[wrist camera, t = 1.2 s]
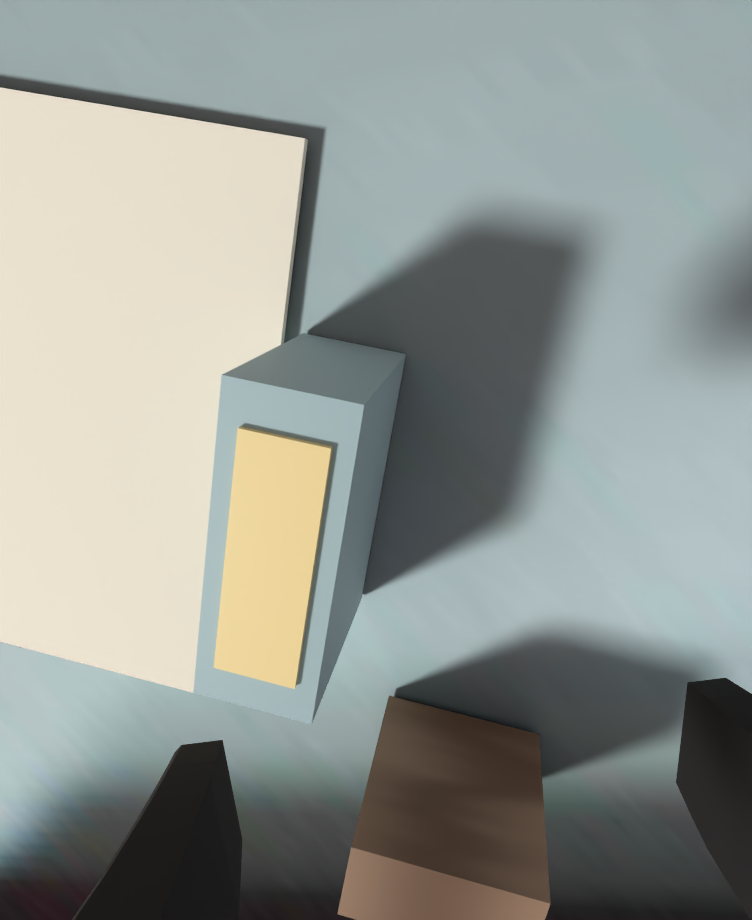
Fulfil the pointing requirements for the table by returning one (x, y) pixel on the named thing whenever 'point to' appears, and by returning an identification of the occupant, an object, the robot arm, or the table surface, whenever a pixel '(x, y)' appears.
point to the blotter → (126, 363)
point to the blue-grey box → (292, 519)
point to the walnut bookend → (449, 822)
